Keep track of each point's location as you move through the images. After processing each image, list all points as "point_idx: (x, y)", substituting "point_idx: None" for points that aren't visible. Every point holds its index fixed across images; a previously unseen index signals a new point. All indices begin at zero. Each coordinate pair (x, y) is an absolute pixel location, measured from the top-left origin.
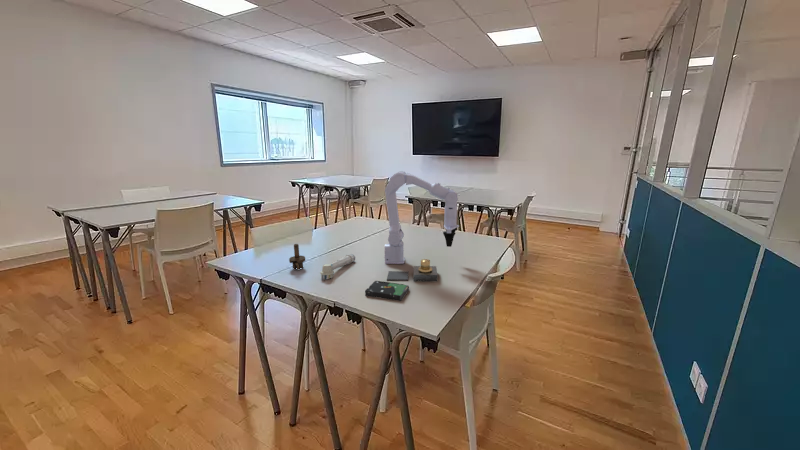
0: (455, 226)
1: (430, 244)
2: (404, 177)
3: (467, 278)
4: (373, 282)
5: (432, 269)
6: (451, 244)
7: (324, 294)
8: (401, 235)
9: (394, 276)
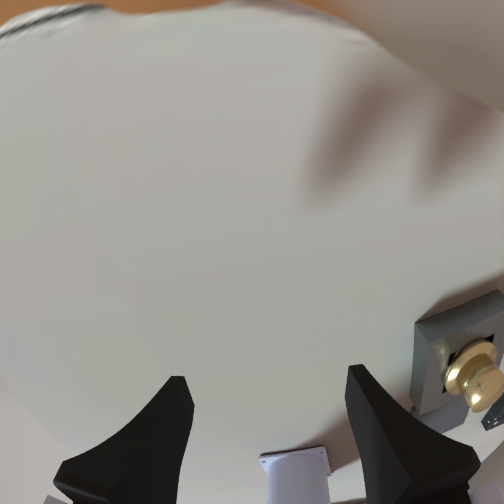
0: None
1: (46, 388)
2: None
3: (467, 153)
4: (493, 427)
5: (464, 343)
6: (374, 379)
7: (490, 451)
8: None
9: (449, 419)
